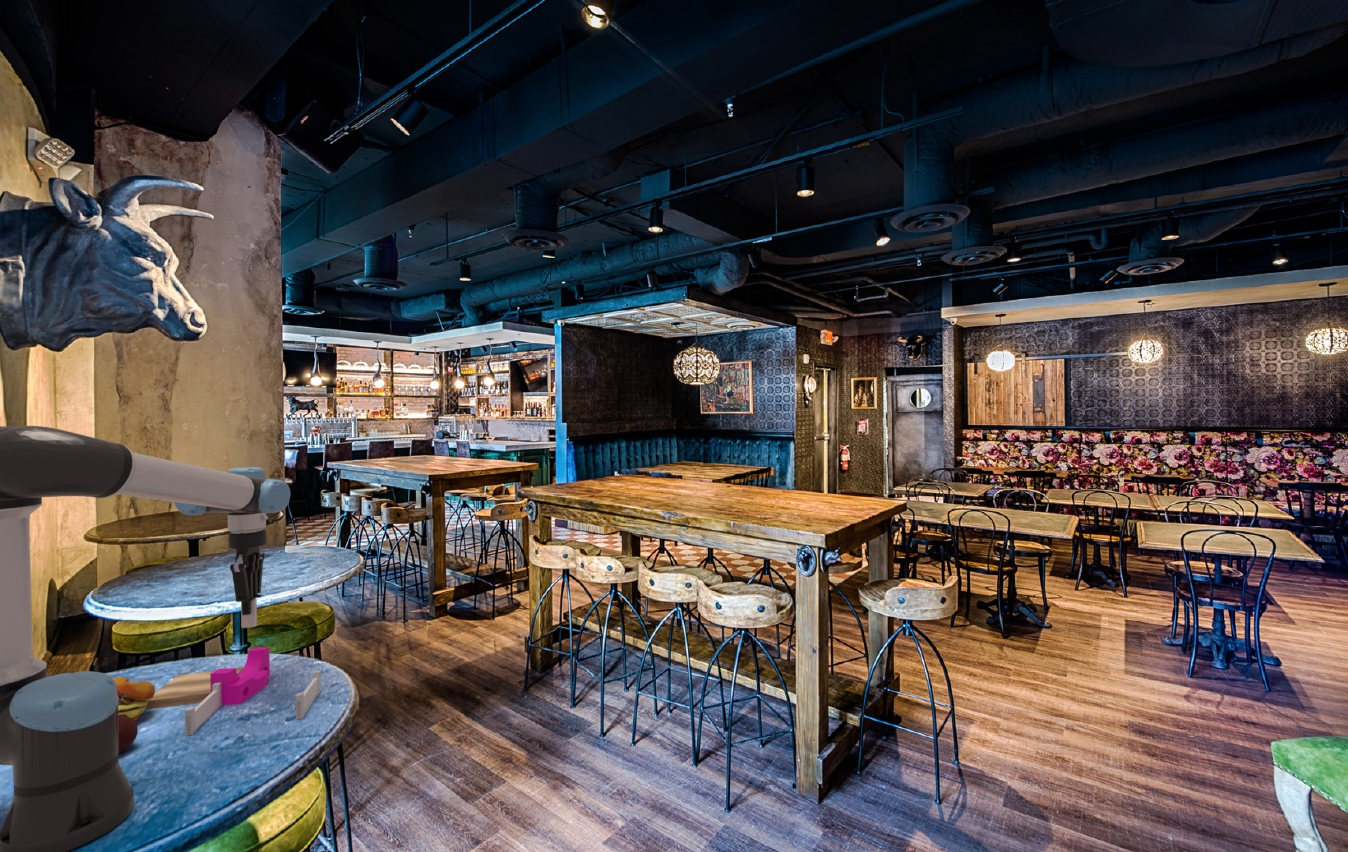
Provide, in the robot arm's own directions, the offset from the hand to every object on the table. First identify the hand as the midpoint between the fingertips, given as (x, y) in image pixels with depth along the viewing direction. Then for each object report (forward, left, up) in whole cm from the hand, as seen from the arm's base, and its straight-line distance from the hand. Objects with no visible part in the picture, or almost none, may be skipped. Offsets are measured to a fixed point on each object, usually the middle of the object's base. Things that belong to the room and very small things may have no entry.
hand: (249, 626), depth 141 cm
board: (-1, +10, -14) cm, 18 cm away
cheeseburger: (-15, +21, -14) cm, 29 cm away
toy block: (-4, -1, -15) cm, 15 cm away
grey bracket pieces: (-17, -8, -14) cm, 24 cm away
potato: (-27, +13, -14) cm, 33 cm away
